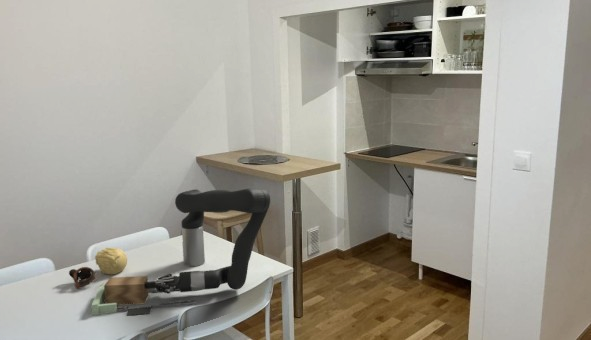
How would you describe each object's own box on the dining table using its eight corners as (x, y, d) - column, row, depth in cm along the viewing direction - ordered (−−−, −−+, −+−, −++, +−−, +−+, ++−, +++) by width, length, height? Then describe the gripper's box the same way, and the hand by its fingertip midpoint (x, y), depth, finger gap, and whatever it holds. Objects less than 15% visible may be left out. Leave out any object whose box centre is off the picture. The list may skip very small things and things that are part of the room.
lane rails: (116, 311, 174) (116, 309, 174) (123, 293, 188) (122, 291, 187) (195, 304, 179) (195, 301, 179) (196, 287, 193) (196, 284, 192)
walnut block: (106, 305, 179) (104, 285, 177) (111, 296, 186) (110, 277, 184) (144, 304, 180) (142, 284, 178) (148, 295, 187) (147, 276, 185)
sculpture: (92, 275, 205) (90, 251, 203) (112, 264, 216) (110, 241, 214) (113, 279, 201) (111, 254, 199) (133, 268, 212) (131, 244, 209)
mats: (126, 316, 171) (126, 315, 171) (135, 288, 192) (134, 287, 192) (150, 313, 172) (150, 312, 172) (155, 286, 193) (155, 286, 193)
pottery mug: (102, 280, 201) (100, 268, 196) (89, 298, 194) (86, 286, 189) (76, 271, 203) (73, 259, 197) (62, 289, 196) (58, 277, 190)
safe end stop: (92, 315, 172) (91, 305, 171) (101, 294, 187) (100, 285, 186) (116, 313, 173) (115, 302, 172) (123, 292, 188) (122, 283, 188)
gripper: (192, 265, 190) (146, 268, 187) (191, 279, 177) (142, 283, 174) (193, 282, 191) (147, 286, 188) (192, 298, 179) (143, 302, 175)
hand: (145, 285), depth 181 cm, fingers closed
